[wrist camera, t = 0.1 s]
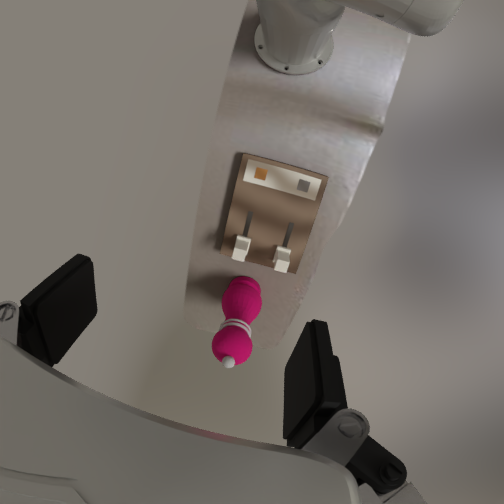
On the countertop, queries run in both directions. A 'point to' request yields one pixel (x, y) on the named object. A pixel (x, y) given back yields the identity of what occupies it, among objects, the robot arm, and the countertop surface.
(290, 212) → the switch board
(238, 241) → the tab
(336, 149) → the countertop surface
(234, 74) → the countertop surface
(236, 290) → the pepper mill
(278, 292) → the countertop surface
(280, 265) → the tab
